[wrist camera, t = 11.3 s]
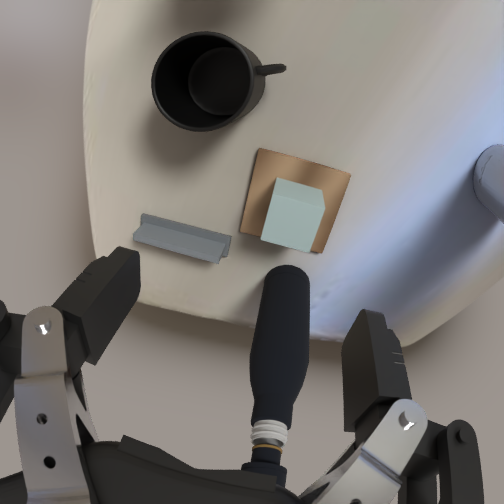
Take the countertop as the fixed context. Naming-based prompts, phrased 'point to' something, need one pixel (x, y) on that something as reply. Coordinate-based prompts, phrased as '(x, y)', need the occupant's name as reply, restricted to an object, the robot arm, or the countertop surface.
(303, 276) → the wine bottle
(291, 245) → the letter cube
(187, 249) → the grey angle bar
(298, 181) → the coaster
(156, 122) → the countertop surface
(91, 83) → the countertop surface
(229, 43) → the mug
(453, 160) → the countertop surface
